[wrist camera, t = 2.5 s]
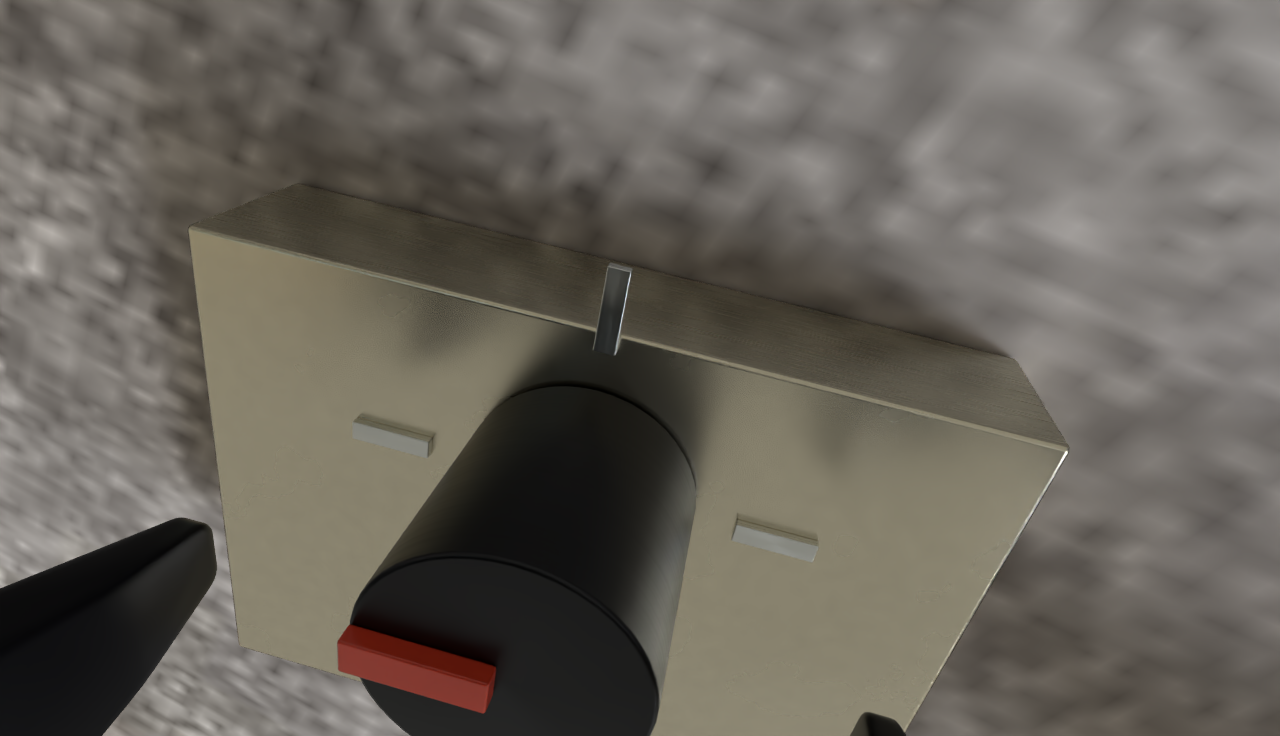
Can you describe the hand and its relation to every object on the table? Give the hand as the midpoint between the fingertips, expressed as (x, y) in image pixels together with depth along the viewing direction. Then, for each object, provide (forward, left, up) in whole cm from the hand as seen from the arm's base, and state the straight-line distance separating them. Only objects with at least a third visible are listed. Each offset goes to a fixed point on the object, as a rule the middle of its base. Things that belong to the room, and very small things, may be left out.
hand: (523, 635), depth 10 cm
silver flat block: (0, +2, -6) cm, 7 cm away
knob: (0, 0, -3) cm, 3 cm away
